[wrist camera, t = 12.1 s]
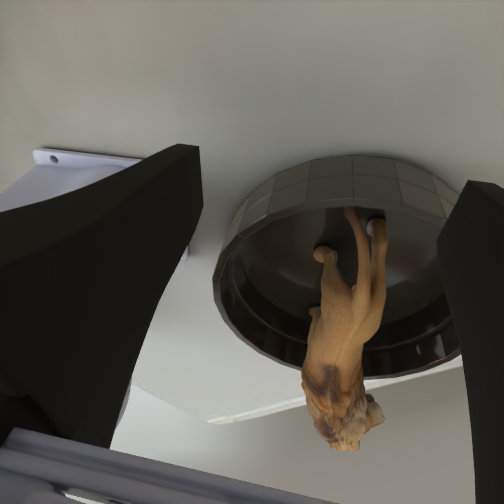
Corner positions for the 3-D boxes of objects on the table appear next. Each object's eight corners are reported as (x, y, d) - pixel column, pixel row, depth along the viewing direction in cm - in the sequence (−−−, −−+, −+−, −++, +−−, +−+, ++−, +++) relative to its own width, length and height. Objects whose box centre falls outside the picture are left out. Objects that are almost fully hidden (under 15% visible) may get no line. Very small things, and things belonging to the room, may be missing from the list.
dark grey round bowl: (232, 310, 30) (218, 356, 27) (226, 136, 19) (203, 178, 16) (422, 343, 28) (432, 396, 25) (533, 169, 17) (577, 224, 14)
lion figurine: (376, 344, 28) (386, 467, 22) (310, 340, 30) (301, 455, 23) (392, 186, 19) (419, 317, 12) (294, 191, 20) (272, 311, 14)
